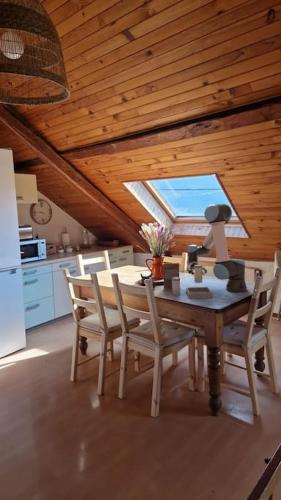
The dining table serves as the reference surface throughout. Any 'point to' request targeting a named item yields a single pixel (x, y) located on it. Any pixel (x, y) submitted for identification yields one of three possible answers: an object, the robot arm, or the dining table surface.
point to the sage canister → (198, 273)
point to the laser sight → (147, 278)
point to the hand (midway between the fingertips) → (199, 274)
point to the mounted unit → (170, 274)
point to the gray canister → (175, 286)
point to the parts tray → (199, 292)
